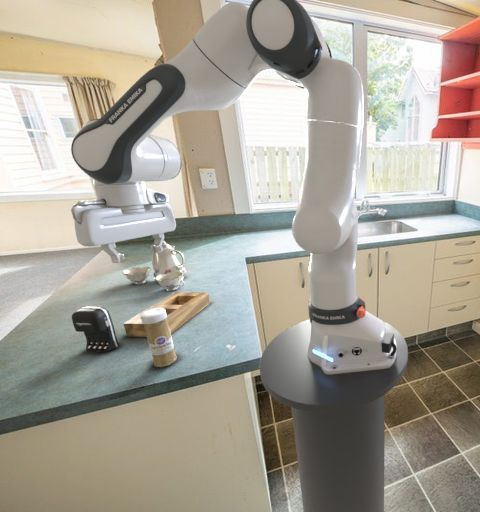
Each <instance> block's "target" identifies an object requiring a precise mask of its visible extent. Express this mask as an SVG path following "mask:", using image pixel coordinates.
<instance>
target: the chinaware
mask: <svg viewBox="0 0 480 512" xmlns="http://www.w3.org/2000/svg"><path fill="white" fill-rule="evenodd" d="M149 248H150V249H151V246H149ZM162 248H163V251H162V252H158V253H153V252H152V256H151V257H152V258H151V264H152V269H153V271H154V272H153V277H154V278H153V280H154V281H156V282H157V283H158V285H159V286H161V287H162V288H163V289H165V290H166V291H167V292H170V291H175V290H177V289H180V287H183V286H185V281H184V279H185V275H186V274H187V272H188V269H187V268H186V267H185V266H184V264H185V263H186V259H185V255H184V253H182V252H181V251H180V250H177V249H175V245H170V244H169V243H167V242H166V241H165V240H163V243H162ZM177 253H178V254H179V256H180V257H181V262H180V261H179V260H178V258H177V256H176V254H177ZM150 271H151V268H150V267H149V266H148V265H146V266H142V267H140V266H134V267H131V268H130V269H129V270H128V269H126V270H123V271H122V274H123V275H124V276H125V278H126V279H127V280H128V281H130V282H133V284H134V285H141V284H145V283H146V282H147V281H146V280H147V279H148V277H149V276H150ZM181 282H182V285H181Z"/></svg>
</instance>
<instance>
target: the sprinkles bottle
mask: <svg viewBox="0 0 480 512" xmlns="http://www.w3.org/2000/svg"><path fill="white" fill-rule="evenodd" d="M146 310H147V309H146ZM144 311H145V310H144ZM142 312H143V311H142ZM142 312H141V313H142ZM141 320H142V323H143V325H144V327H145V331H146V335H147V337H146V338H147V343H148V346H149V350H150V352H151V356H152V359H153V366H154V367H156V368H164V367H168V366H170V365H173V363H175V362H176V361H177V359H178V356H177V355H176V349H175V344H174V341H173V336H172V334H171V332H170V328H169V325H168V322H167V314H166V310H165V309H164V308H154V309H150V310H147V311H145V312H143V313H142V314H141Z"/></svg>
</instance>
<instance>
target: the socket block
mask: <svg viewBox="0 0 480 512" xmlns="http://www.w3.org/2000/svg"><path fill="white" fill-rule="evenodd" d="M210 304H211V301H210V297H209V293H208V292H182V291H181V292H180V291H179V292H177V291H176V292H173V293H171V294H170V295H168V296H166V297H165V298H163V299H161V300H160V301H158V302H157V303H155V304H153V305H152V306H150V307H148V308H147V309H145V310H143V311H141V312H140V313H138V314H137V315H134V316H133V317H131V318H130V319H128V320H127V321H125V322H124V323H123V327H124V331H125V334H126V337H142V338H147V335H146V331H145V327H144V325H143V323H142V320H141V314H142V313H143V312H145V311H147V310H150V309H154V308H164V309H165V310H166V314H167V322H168V325H169V328H170V332H171V335H172V334H173V333H175V332H176V331H177V330H178V329H180V328H181V327H182V326H184V325H185V324H186V323H187V322H189V321H190V320H191V319H192V318H194V317H195V316H196V315H198V314H199V313H201V311H203V310H204V309H205V308H206V307H208V306H209V305H210Z"/></svg>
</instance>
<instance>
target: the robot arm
mask: <svg viewBox="0 0 480 512" xmlns="http://www.w3.org/2000/svg"><path fill="white" fill-rule="evenodd" d="M267 71H275V72H276V74H277V75H279V76H280V77H282V78H283V79H284V80H286V81H288V82H289V83H291V84H293V85H294V86H296V87H298V88H299V89H300V88H301V89H304V92H305V95H306V125H305V127H306V128H305V129H306V130H305V131H306V132H305V133H306V134H305V156H304V157H305V159H304V168H303V173H302V178H301V182H300V187H299V193H298V199H297V206H296V211H295V214H294V217H293V220H292V223H291V224H292V225H291V234H292V237H293V239H294V242H295V243H296V244H297V245H298V247H300V249H302V250H303V251H305V252H307V253H309V254H310V255H309V256H310V257H309V263H308V268H307V279H308V291H309V300H308V305H307V306H308V309H307V310H308V318H309V319H310V323H311V337H310V344H309V348H308V357H309V359H310V360H311V361H312V362H313V363H314V364H316V365H318V366H320V367H321V369H322V370H323V372H324V373H325V374H327V375H332V374H341V373H350V372H360V371H369V370H378V369H387V368H390V367H391V366H392V365H393V363H394V362H395V359H396V355H397V346H396V341H395V338H394V333H392V332H387V330H386V327H385V324H384V322H385V321H384V320H382V319H380V318H379V317H377V316H375V315H374V314H373V313H371V312H370V311H367V310H366V299H365V296H363V297H362V298H361V297H359V296H358V295H357V293H358V292H357V291H358V290H357V257H358V237H359V236H358V232H359V231H358V230H359V212H358V207H357V205H356V203H355V202H354V200H355V194H356V187H357V181H358V175H359V172H360V163H361V151H362V141H363V140H362V139H363V128H364V89H363V81H362V76H361V74H360V72H359V71H358V69H357V68H356V67H355V66H353V65H352V64H351V63H349V62H347V61H345V60H343V59H337V58H333V55H332V52H331V48H330V47H329V44H328V42H327V41H326V39H325V38H324V36H323V33H322V31H321V29H320V27H319V26H318V24H317V23H316V21H314V19H313V18H312V17H311V15H309V13H308V12H307V10H306V9H305V7H304V6H303V5H302V4H301V3H300V2H299V1H298V0H252V1H251V3H250V5H249V6H247V5H245V4H243V3H241V2H238V1H231V2H228V3H226V4H224V5H223V6H222V7H221V8H219V9H218V10H217V11H216V12H215V13H213V14H212V16H210V17H209V18H208V20H206V22H204V24H203V25H202V26H201V27H200V28H199V29H198V31H197V32H196V33H195V34H194V36H193V38H191V40H190V41H189V42H188V44H187V45H186V46H185V47H184V48H182V50H181V51H180V52H178V53H176V55H175V56H173V57H171V58H170V59H169V60H167V61H165V62H164V63H161V64H159V65H157V66H154V67H152V68H151V69H149V70H148V71H146V72H145V73H144V74H143V75H142V76H141V77H139V79H138V80H137V81H135V83H134V84H132V85H131V87H130V88H129V89H128V90H127V91H126V92H125V93H124V94H123V95H121V97H120V98H119V99H117V101H115V103H114V104H113V105H112V106H111V107H110V108H109V109H108V110H107V111H106V112H105V113H103V115H102V116H101V117H100V118H94V119H90V120H88V121H86V122H84V123H83V124H82V128H81V129H80V130H79V131H78V132H77V133H76V134H75V136H74V137H73V139H72V142H71V146H70V151H71V157H72V159H73V161H74V162H75V164H76V165H77V167H78V168H79V169H80V170H81V171H83V173H85V174H86V176H88V177H90V178H91V179H93V183H92V184H93V187H94V191H95V194H96V197H97V199H92V200H79V201H77V203H74V204H73V205H72V207H71V208H70V212H71V215H72V219H73V220H74V221H73V222H74V230H75V236H76V240H77V243H78V244H80V245H81V246H83V247H88V248H89V247H101V250H103V252H105V253H106V254H107V255H109V256H110V259H111V263H113V264H119V263H124V262H125V261H126V258H125V255H124V253H119V252H118V251H117V250H116V249H115V248H117V245H116V243H119V242H125V241H130V240H135V239H140V238H144V237H150V236H151V237H152V239H154V242H153V245H150V247H151V248H150V250H151V252H152V254H153V253H158V252H162V251H163V248H162V243H163V241H165V234H166V233H170V232H174V231H175V230H176V227H177V222H176V217H175V214H174V211H173V208H172V206H171V205H170V204H169V202H170V196H169V194H167V193H164V192H160V191H157V190H154V189H151V188H147V184H146V182H147V183H148V182H165V181H169V180H173V179H175V178H176V177H177V176H178V175H179V174H180V172H181V171H182V165H183V163H182V162H183V159H182V156H181V153H180V151H179V149H178V148H177V146H176V145H175V144H174V143H173V142H172V141H171V140H169V139H167V138H164V137H162V136H157V135H153V134H152V133H153V132H154V131H155V130H156V129H157V128H158V127H159V126H160V125H162V123H163V122H164V121H165V120H166V119H168V118H170V117H172V116H174V115H178V114H182V113H187V112H198V111H199V112H201V111H213V112H215V111H222V110H226V109H228V108H229V107H231V106H232V105H234V104H235V103H236V102H237V101H239V100H240V99H241V98H242V97H243V95H244V94H245V93H246V92H247V91H248V89H249V88H250V86H251V85H252V84H253V83H254V82H255V80H256V79H257V78H258V77H259V76H260V75H261V74H262V73H264V72H267ZM383 321H384V322H383Z"/></svg>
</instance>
